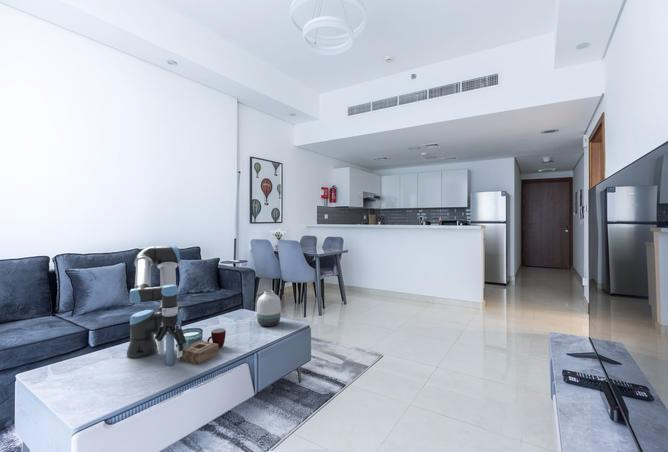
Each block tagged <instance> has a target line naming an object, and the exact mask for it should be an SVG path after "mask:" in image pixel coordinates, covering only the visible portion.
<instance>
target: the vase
mask: <svg viewBox="0 0 668 452" xmlns="http://www.w3.org/2000/svg"><path fill="white" fill-rule="evenodd" d="M263 292H264V293H263V294H261V295H260V296H259V297H258V298H257V301H256V319H257V320H256V321H257V323H258V324H259V325H260V326H263V327H272V326H276V325H278V324H279V323H280V321H281V316H282V315H281V313H282V310H281V302H282V301H281V298H280V296H279V295H277V294H276V293H275V292H274V290H264V291H263Z"/></svg>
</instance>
